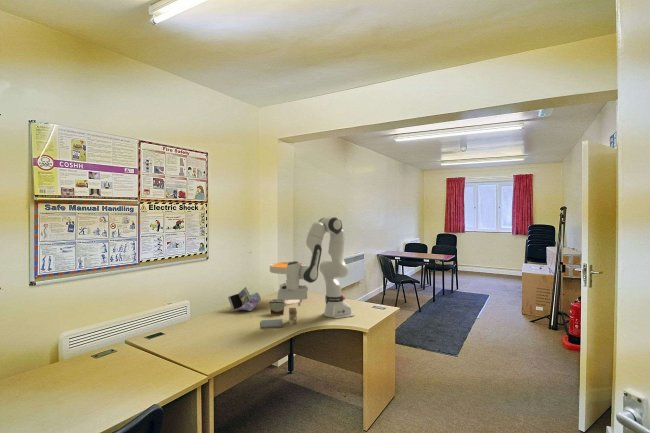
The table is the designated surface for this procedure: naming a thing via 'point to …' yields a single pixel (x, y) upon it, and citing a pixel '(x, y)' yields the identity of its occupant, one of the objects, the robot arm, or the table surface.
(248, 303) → the pastel lumpy piece
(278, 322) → the mat
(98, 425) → the table surface
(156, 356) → the table surface
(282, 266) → the orange pedestal table
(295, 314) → the tall wooden block
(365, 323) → the table surface
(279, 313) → the half chocolate cake
